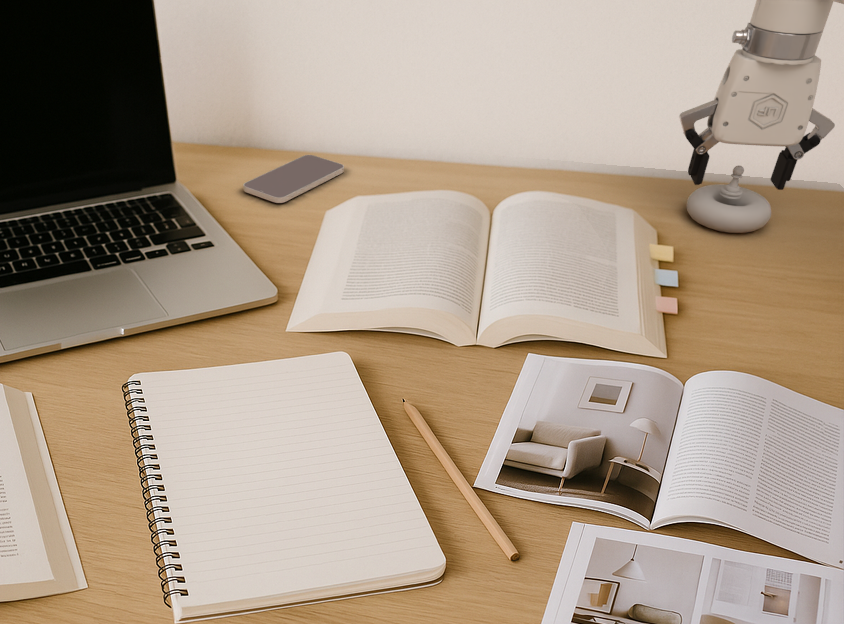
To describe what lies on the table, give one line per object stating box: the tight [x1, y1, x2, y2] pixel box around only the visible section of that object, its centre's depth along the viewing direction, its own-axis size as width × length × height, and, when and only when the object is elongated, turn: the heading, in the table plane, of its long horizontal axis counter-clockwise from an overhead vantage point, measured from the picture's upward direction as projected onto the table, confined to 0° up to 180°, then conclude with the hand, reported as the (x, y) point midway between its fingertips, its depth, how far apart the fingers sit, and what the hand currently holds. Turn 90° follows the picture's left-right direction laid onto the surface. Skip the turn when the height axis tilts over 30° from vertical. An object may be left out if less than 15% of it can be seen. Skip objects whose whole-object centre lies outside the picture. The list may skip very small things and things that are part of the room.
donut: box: [686, 183, 772, 234], centre depth 108 cm, size 10×4×10 cm
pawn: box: [720, 165, 745, 199], centre depth 106 cm, size 3×3×4 cm
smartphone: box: [242, 154, 345, 204], centre depth 119 cm, size 7×1×15 cm
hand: (735, 183), depth 106 cm, fingers open, 9 cm apart
